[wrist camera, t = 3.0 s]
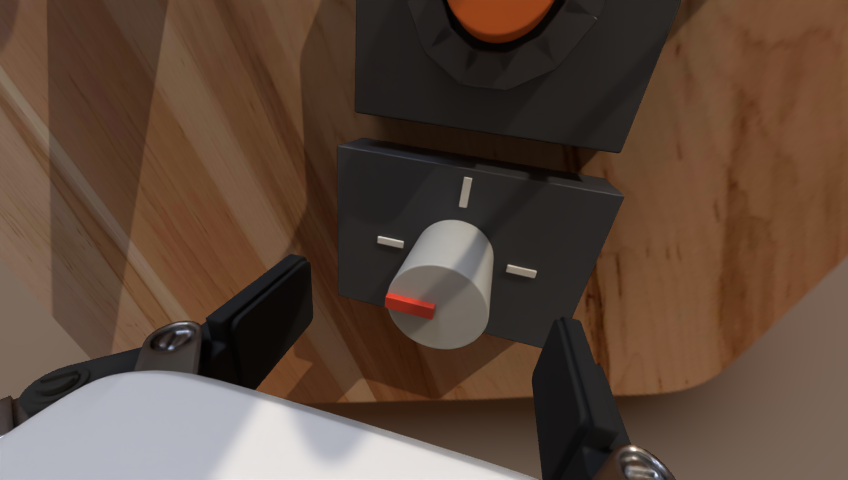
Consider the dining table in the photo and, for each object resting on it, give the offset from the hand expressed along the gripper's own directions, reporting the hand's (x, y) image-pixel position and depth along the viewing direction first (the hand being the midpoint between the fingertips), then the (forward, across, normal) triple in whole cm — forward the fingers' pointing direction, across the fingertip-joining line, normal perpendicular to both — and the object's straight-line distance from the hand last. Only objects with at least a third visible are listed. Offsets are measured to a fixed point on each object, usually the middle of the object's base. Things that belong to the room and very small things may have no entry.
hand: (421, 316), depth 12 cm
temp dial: (+5, -1, 0) cm, 5 cm away
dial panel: (+8, -1, 0) cm, 8 cm away
